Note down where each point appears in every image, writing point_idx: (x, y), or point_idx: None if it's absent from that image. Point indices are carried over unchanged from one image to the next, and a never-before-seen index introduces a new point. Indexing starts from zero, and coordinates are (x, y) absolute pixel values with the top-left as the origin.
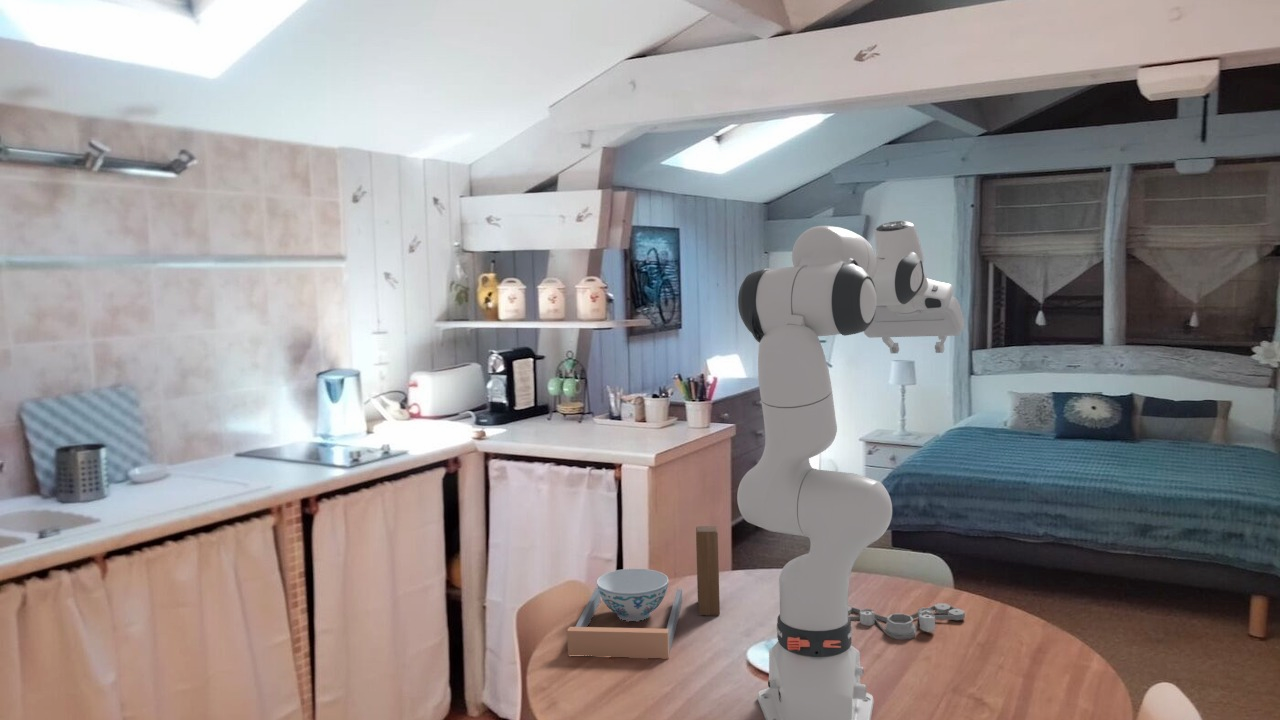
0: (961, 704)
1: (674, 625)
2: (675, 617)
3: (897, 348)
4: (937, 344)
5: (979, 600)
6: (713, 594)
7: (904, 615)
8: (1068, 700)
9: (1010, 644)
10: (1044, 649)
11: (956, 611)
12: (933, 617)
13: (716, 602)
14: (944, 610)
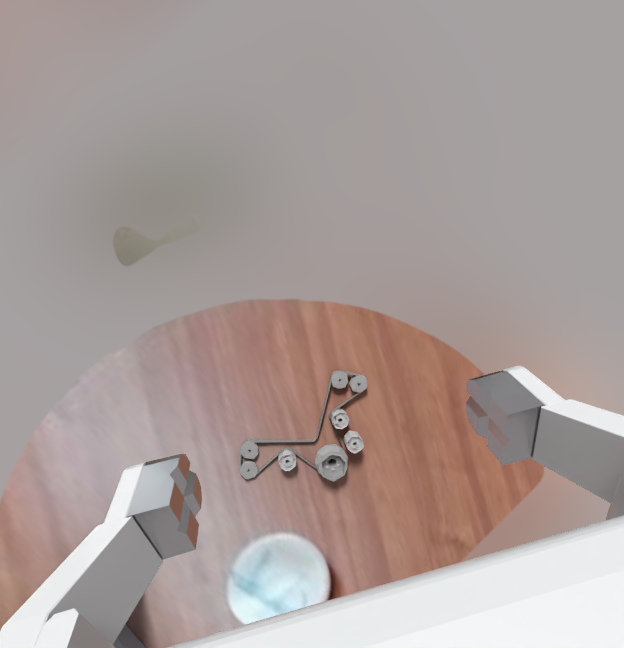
0: (449, 560)
1: (131, 644)
2: (120, 637)
3: (183, 492)
4: (521, 439)
5: (349, 310)
6: None
7: (331, 454)
8: (511, 489)
9: (427, 408)
10: (456, 397)
11: (358, 382)
12: (363, 445)
13: None
14: (345, 385)
